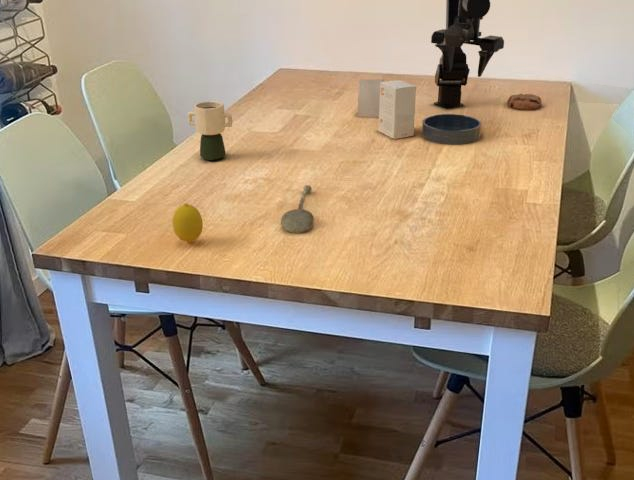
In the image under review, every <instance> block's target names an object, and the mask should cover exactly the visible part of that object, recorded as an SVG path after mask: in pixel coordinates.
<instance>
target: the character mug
mask: <svg viewBox="0 0 634 480" xmlns="http://www.w3.org/2000/svg"><path fill="white" fill-rule="evenodd" d="M193 117H194V121H193ZM226 118H227V122H226ZM187 120H188V122H187V123H188V125H189V126H195V130H196V132H197V133H198V134H199V135H201V136H200V141H199V143H200V144H199V157H200V158H201V159H204V160H207V161H215V160H218V159H221V158H224V157H225V156H226V148H225V142H224V138H223V135H222V133H224V131H225V130H226V128H232V127H233V115H232V113H230V112H225V105H224V103H223V102H220V101H216V100H207V101H201V102H197V103H195V104H194V105H193V111H188V112H187Z"/></svg>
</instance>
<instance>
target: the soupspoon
mask: <svg viewBox="0 0 634 480" xmlns="http://www.w3.org/2000/svg"><path fill="white" fill-rule="evenodd" d="M312 190H313V189H312V186H311V185H309V184H307V185H306V184H305V185H304V186H303V192H302V194H301V197H300V200H299V203H298V206H297V208H295V209H291V210H288V211H286V212H285V213H283V214H282V216H281V218H280V225H281V227H282V228H283V230H285V231H287V232H290V233H292V234H302V233H306V232H308V231H309V230H310V229H311V228H313V224H314V222H315V217H314V214H313V213H312V212H311V211H309V210H307V209H303V207H304V203H305V198H306V195H307V194H309V193H311V192H312Z"/></svg>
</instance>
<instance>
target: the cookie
mask: <svg viewBox="0 0 634 480" xmlns="http://www.w3.org/2000/svg"><path fill="white" fill-rule="evenodd" d="M506 104H507V105H508V107H509V108H513V109H516V110H521V111H522V110H523V111H530V110H531V111H533V110H537V109H539V108H541V107H542V97H540V96H539V95H536V94H532V93H528V94H527V93H525V94H523V93H519V94H511V95H510V96H509V97H508V99H507V101H506Z"/></svg>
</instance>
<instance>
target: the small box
mask: <svg viewBox="0 0 634 480" xmlns="http://www.w3.org/2000/svg"><path fill="white" fill-rule="evenodd" d="M416 94H417V86H416V85H414V84H411V83H409V82H406V81H404V80H401V79H396V80H395V79H394V80H388V81H387V80H385V81H384V82H380V103H379V117H378V132H379V133H380V134H381V133H382V135H385V136H387V137H389V138H391V139H392V140H396V139H403V138H408V137H409V138H410V137H414V134H415V114H416V98H417V97H416Z"/></svg>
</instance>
